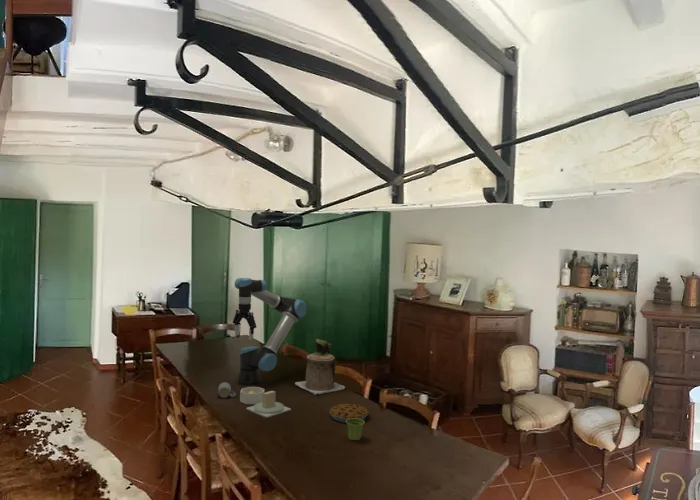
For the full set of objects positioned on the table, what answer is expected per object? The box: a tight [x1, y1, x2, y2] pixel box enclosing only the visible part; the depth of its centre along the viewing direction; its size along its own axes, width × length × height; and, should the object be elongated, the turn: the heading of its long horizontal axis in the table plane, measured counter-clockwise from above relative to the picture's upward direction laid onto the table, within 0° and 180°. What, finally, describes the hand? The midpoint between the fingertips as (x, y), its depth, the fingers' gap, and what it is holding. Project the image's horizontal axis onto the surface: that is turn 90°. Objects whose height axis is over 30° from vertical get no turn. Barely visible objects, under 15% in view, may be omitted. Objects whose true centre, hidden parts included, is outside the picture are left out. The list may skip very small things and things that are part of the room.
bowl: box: [239, 386, 266, 405], centre depth 325 cm, size 14×14×6 cm
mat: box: [246, 405, 292, 419], centre depth 310 cm, size 18×18×1 cm
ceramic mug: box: [217, 382, 237, 399], centre depth 330 cm, size 11×8×8 cm
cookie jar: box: [294, 338, 346, 396], centre depth 354 cm, size 25×25×32 cm
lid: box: [253, 390, 285, 414], centre depth 310 cm, size 17×17×9 cm
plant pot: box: [346, 418, 366, 441], centre depth 275 cm, size 9×9×9 cm
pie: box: [329, 403, 369, 424], centre depth 304 cm, size 22×22×5 cm
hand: (244, 337), depth 338 cm, fingers open, 13 cm apart
